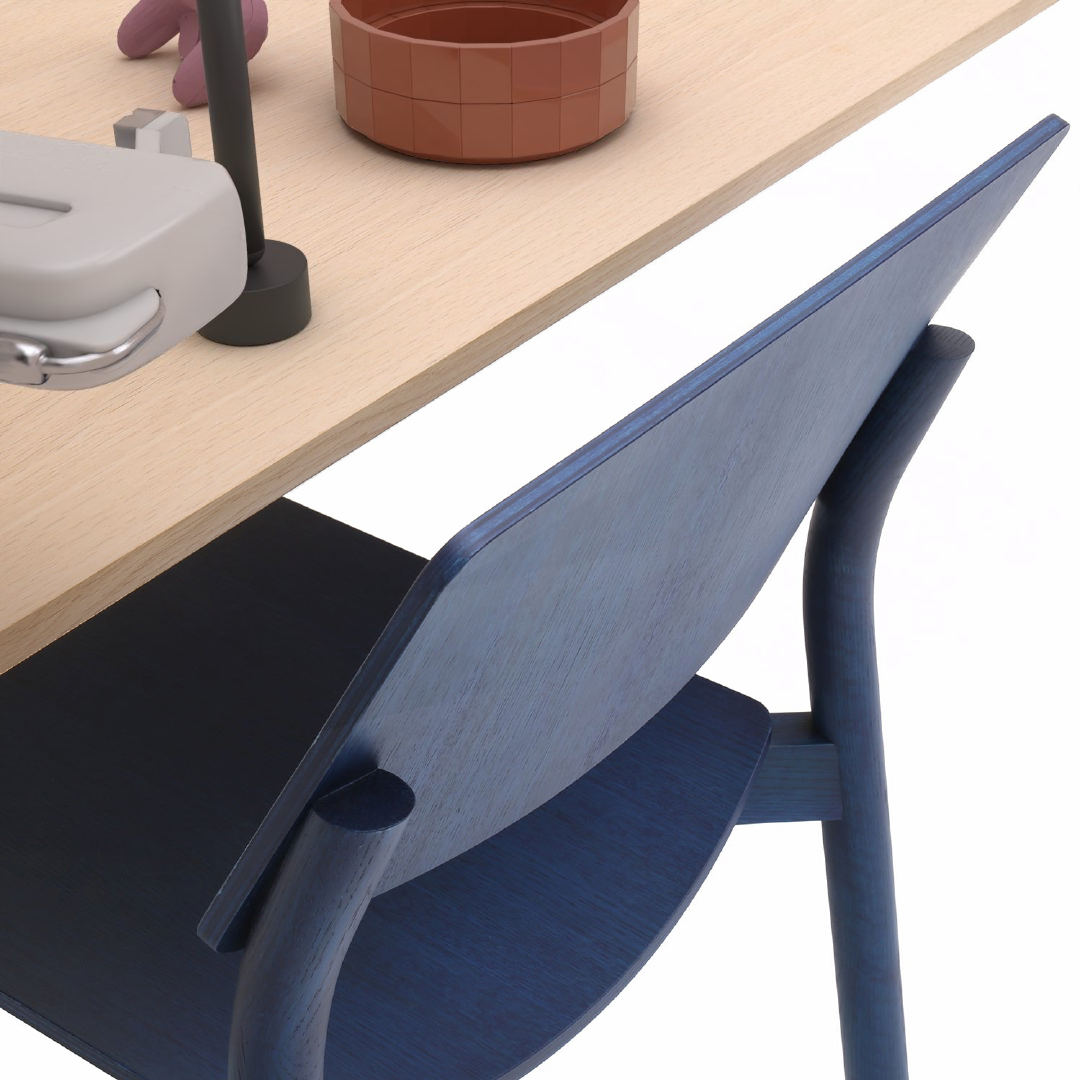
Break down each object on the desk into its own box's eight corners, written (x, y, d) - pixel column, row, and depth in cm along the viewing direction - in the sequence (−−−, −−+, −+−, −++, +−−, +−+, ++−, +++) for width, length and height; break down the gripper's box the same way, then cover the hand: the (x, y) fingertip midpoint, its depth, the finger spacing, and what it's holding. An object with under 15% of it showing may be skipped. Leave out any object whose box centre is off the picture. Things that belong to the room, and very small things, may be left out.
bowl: (383, 188, 79) (376, 63, 75) (307, 77, 90) (298, -36, 87) (681, 146, 83) (687, 26, 80) (571, 45, 95) (573, -64, 91)
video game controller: (250, 128, 88) (296, 0, 86) (172, 105, 86) (216, -28, 83) (181, 70, 95) (222, -51, 93) (107, 47, 92) (146, -78, 90)
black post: (205, 354, 66) (152, -61, 57) (183, 300, 70) (129, -99, 60) (324, 335, 67) (291, -75, 58) (297, 282, 71) (262, -111, 62)
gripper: (65, 262, 36) (335, 52, 47) (-652, 140, 42) (-265, -23, 52) (108, 503, 40) (349, 258, 51) (-556, 363, 45) (-212, 168, 56)
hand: (32, 114), depth 52 cm, fingers open, 8 cm apart
